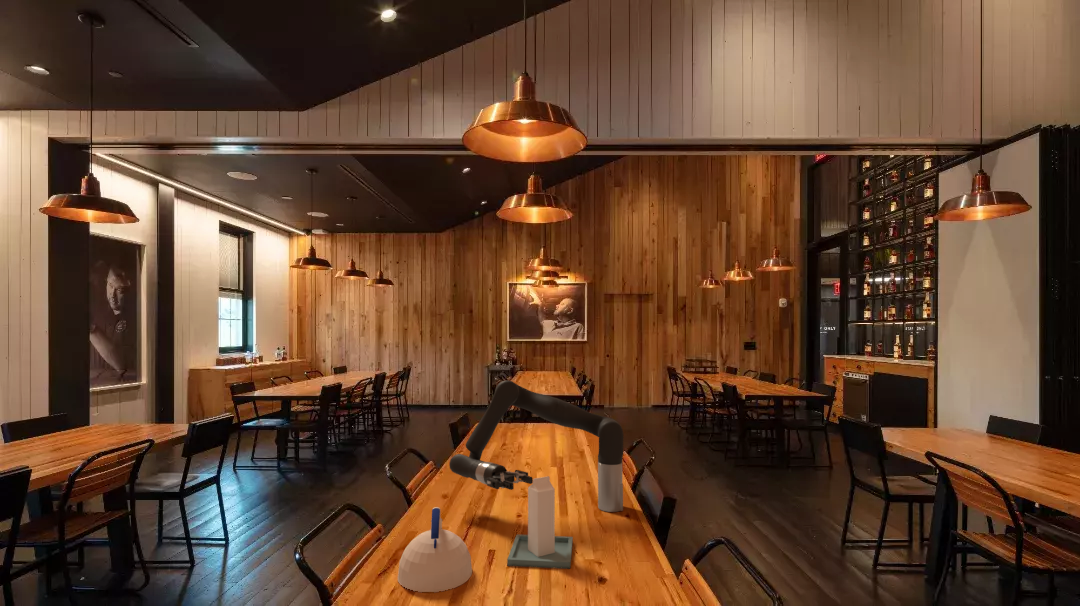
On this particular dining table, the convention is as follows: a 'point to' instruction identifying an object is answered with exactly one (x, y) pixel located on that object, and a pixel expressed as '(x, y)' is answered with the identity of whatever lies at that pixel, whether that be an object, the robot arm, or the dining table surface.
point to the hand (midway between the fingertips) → (522, 483)
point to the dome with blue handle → (435, 560)
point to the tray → (528, 559)
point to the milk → (541, 517)
